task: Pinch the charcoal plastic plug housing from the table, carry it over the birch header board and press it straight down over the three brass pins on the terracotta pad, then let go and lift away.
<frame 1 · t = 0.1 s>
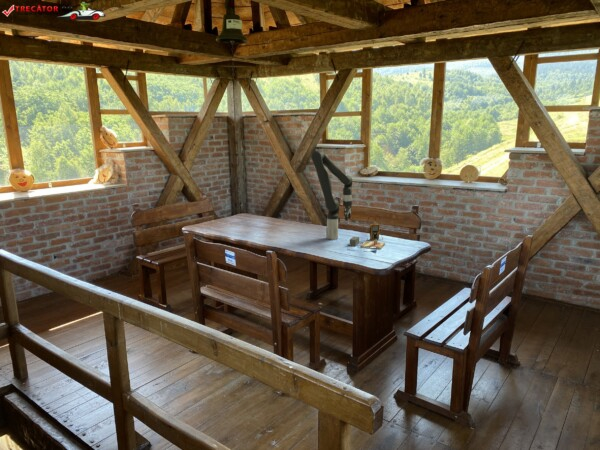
hand: (347, 219, 368), 17 cm above the table, tool pointing down, fingers open, 8 cm apart
plug housing: (354, 244, 356), on the table
header board: (372, 246, 350), on the table
multimeter: (376, 240, 368), on the table
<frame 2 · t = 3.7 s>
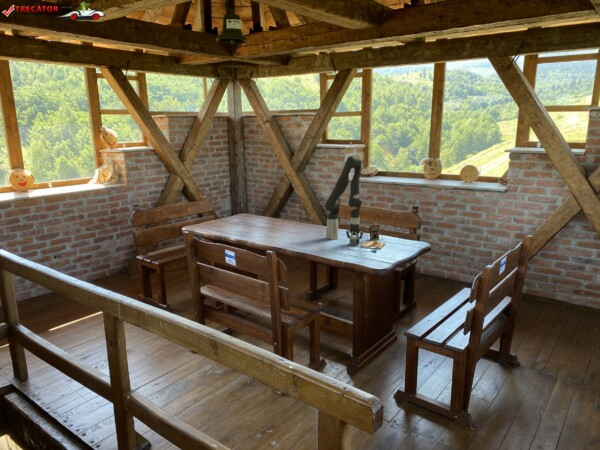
hand: (354, 243, 356), 1 cm above the table, tool pointing down, fingers closed on plug housing, 4 cm apart
plug housing: (354, 244, 356), on the table, touching gripper
everything else where it was.
when the fingers open (2 cm above the table, at t = 10.2 s): plug housing stays where it is, resting on header board.
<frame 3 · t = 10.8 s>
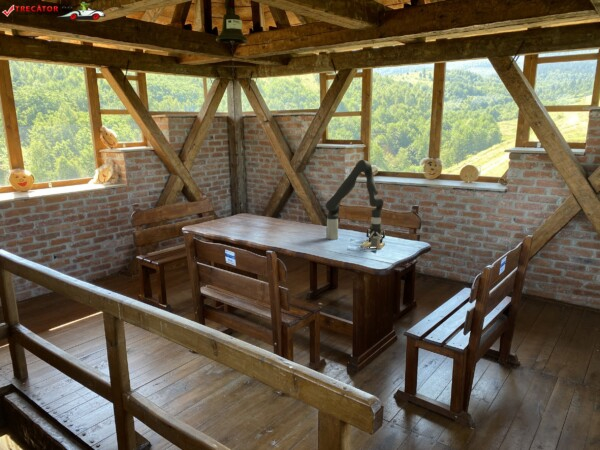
hand: (375, 242, 349), 3 cm above the table, tool pointing down, fingers open, 8 cm apart
plug housing: (375, 244, 349), point 2 cm above the table, touching header board
everything else where it was.
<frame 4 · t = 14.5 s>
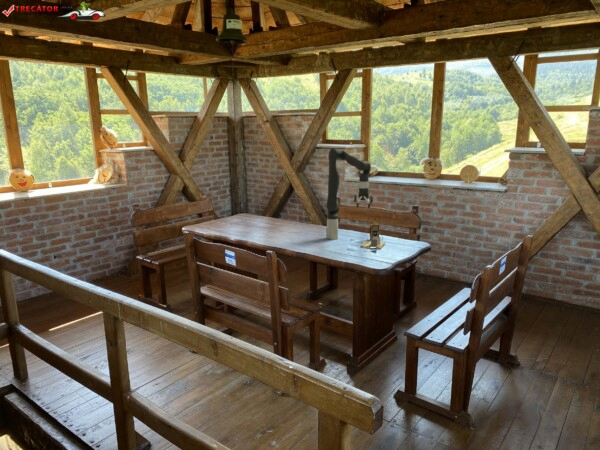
hand: (363, 207, 346), 30 cm above the table, tool pointing down, fingers open, 8 cm apart
nothing on the table moved.
at the end: plug housing 0.1 cm from the target spot on the header board, point 1.7 cm above the header board's base; plug housing tilted 0°; the gripper is holding nothing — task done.
